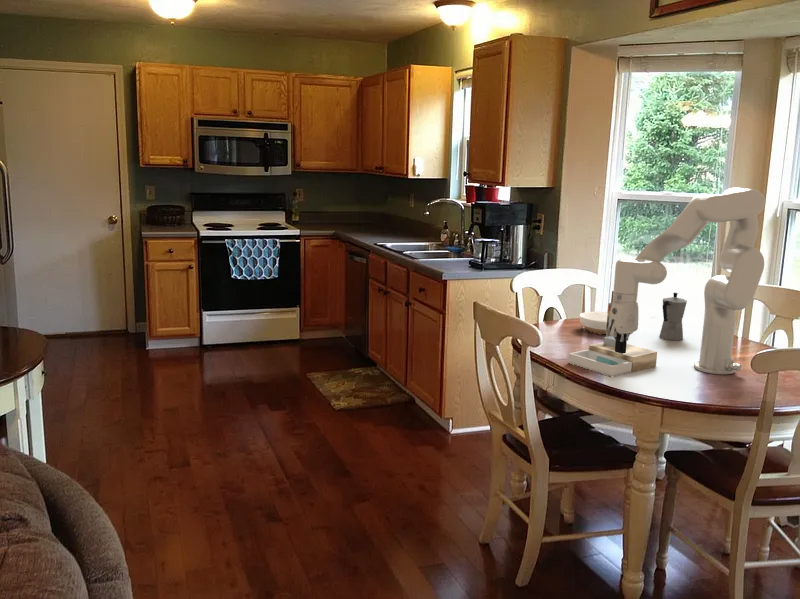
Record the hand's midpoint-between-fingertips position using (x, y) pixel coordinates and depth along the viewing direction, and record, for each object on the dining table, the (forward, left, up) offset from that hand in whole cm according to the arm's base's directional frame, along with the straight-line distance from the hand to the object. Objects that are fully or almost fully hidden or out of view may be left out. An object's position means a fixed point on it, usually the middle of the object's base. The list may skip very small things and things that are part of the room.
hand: (620, 352), depth 242 cm
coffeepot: (+16, -54, -6) cm, 56 cm away
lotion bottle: (+23, -28, -6) cm, 37 cm away
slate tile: (+9, -9, -1) cm, 12 cm away
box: (+4, +4, -6) cm, 9 cm away
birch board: (+4, -8, -6) cm, 10 cm away
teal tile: (+1, +5, -2) cm, 6 cm away
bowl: (+37, -40, -6) cm, 55 cm away
